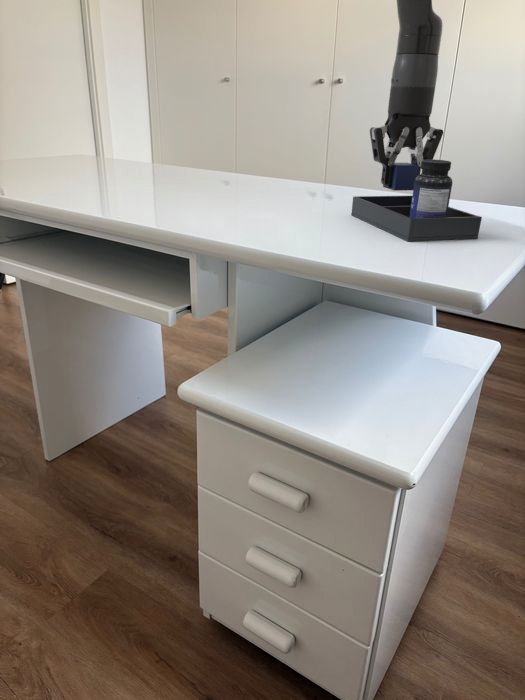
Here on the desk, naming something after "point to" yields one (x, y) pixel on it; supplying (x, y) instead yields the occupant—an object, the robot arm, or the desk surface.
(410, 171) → the navy block
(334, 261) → the desk surface
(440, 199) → the pill bottle
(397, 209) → the sorting tray
